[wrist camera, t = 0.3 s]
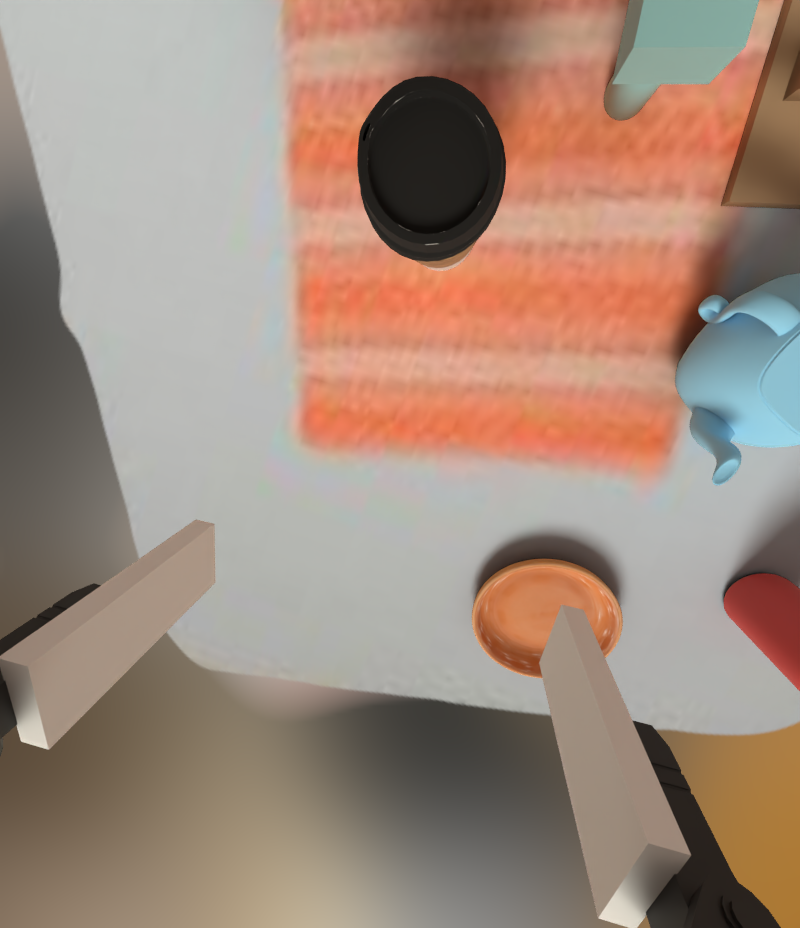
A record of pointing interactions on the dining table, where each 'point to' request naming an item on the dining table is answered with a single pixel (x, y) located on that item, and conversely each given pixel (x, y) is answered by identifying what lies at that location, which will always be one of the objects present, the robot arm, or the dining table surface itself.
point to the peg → (674, 47)
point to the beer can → (769, 618)
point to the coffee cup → (430, 170)
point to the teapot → (745, 373)
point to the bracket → (772, 126)
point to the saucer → (539, 610)
